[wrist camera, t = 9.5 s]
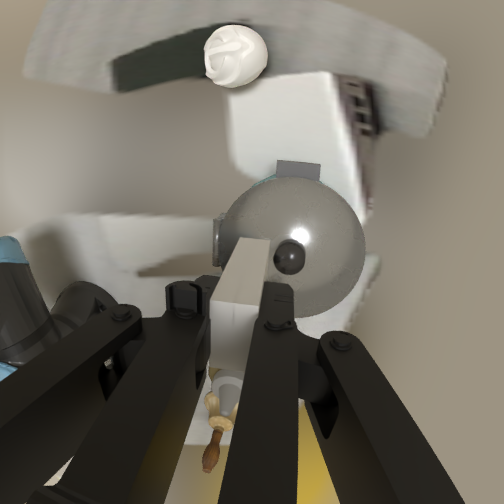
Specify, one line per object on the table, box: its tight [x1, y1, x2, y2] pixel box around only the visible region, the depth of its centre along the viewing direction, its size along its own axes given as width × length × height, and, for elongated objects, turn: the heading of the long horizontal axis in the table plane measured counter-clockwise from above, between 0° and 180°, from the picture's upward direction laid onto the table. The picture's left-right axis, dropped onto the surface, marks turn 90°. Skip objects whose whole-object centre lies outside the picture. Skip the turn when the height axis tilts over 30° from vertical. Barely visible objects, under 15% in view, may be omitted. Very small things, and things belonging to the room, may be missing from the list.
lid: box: [213, 177, 365, 318], centre depth 31 cm, size 15×16×3 cm
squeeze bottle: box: [209, 367, 245, 417], centre depth 38 cm, size 8×8×18 cm
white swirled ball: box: [204, 25, 268, 88], centre depth 31 cm, size 8×8×8 cm
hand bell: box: [202, 391, 239, 473], centre depth 46 cm, size 8×8×16 cm
